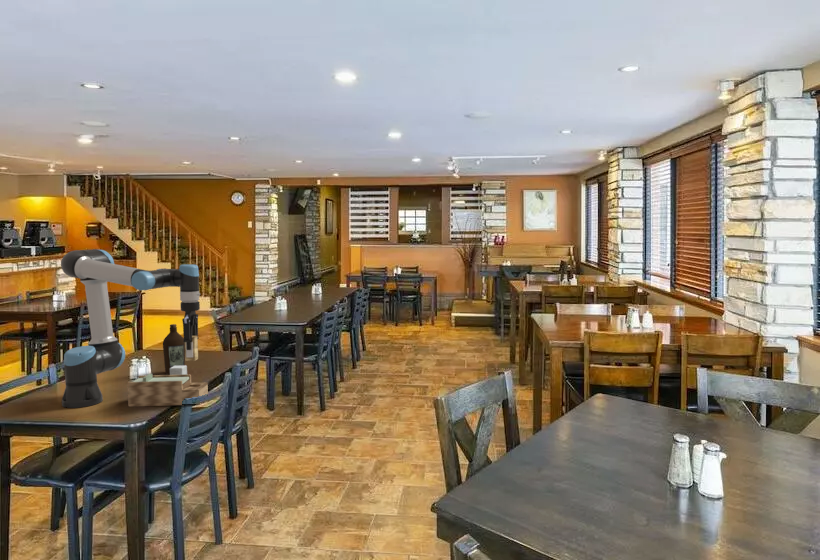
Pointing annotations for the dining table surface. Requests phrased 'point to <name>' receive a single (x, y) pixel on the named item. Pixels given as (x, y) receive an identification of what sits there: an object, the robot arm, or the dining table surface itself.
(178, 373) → the product box
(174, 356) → the olive oil
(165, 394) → the toolbox
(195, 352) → the beige wooden block
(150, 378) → the lid
